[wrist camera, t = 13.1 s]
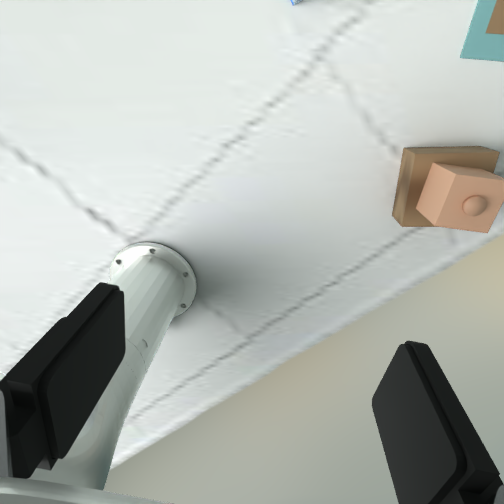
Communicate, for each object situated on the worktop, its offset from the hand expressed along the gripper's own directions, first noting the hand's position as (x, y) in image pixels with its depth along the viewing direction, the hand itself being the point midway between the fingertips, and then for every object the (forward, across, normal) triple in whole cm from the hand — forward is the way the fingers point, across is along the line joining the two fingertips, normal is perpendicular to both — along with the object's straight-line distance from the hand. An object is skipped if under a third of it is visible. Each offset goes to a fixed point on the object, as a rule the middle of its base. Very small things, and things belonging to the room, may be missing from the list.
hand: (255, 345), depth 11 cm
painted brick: (+27, -18, -1) cm, 32 cm away
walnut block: (+31, -18, -1) cm, 36 cm away
